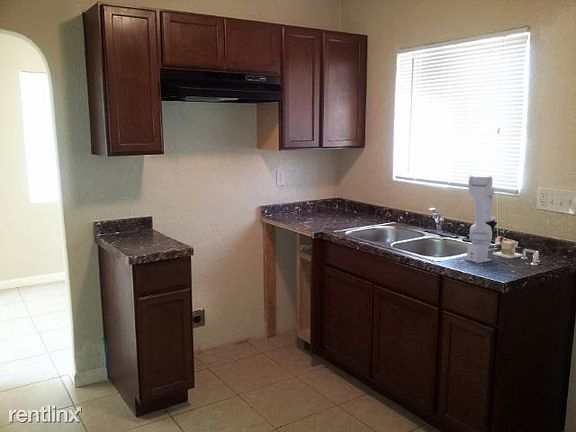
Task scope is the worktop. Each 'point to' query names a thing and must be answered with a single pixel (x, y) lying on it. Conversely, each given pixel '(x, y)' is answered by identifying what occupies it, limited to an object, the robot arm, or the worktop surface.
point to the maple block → (508, 248)
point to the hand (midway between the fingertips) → (484, 236)
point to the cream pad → (507, 255)
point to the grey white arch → (535, 256)
